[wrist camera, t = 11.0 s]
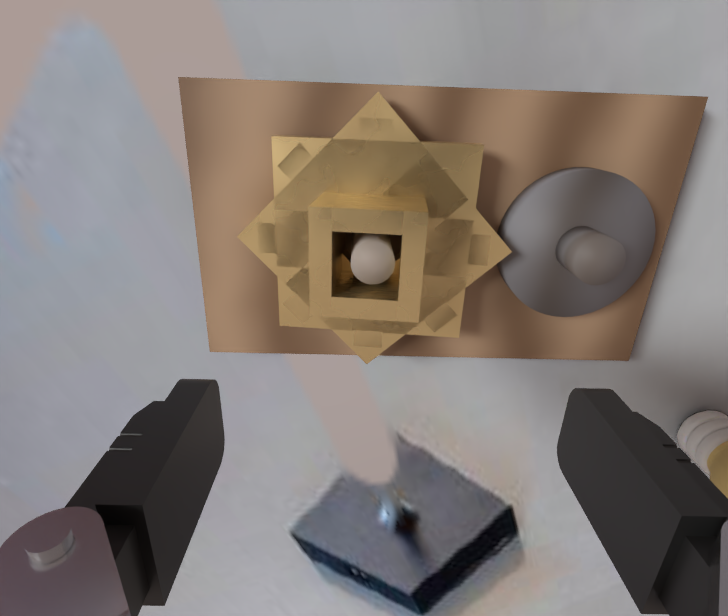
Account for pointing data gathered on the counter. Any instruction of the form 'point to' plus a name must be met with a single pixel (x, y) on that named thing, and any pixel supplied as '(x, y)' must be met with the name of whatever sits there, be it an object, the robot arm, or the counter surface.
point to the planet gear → (374, 230)
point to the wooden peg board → (494, 202)
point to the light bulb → (707, 445)
